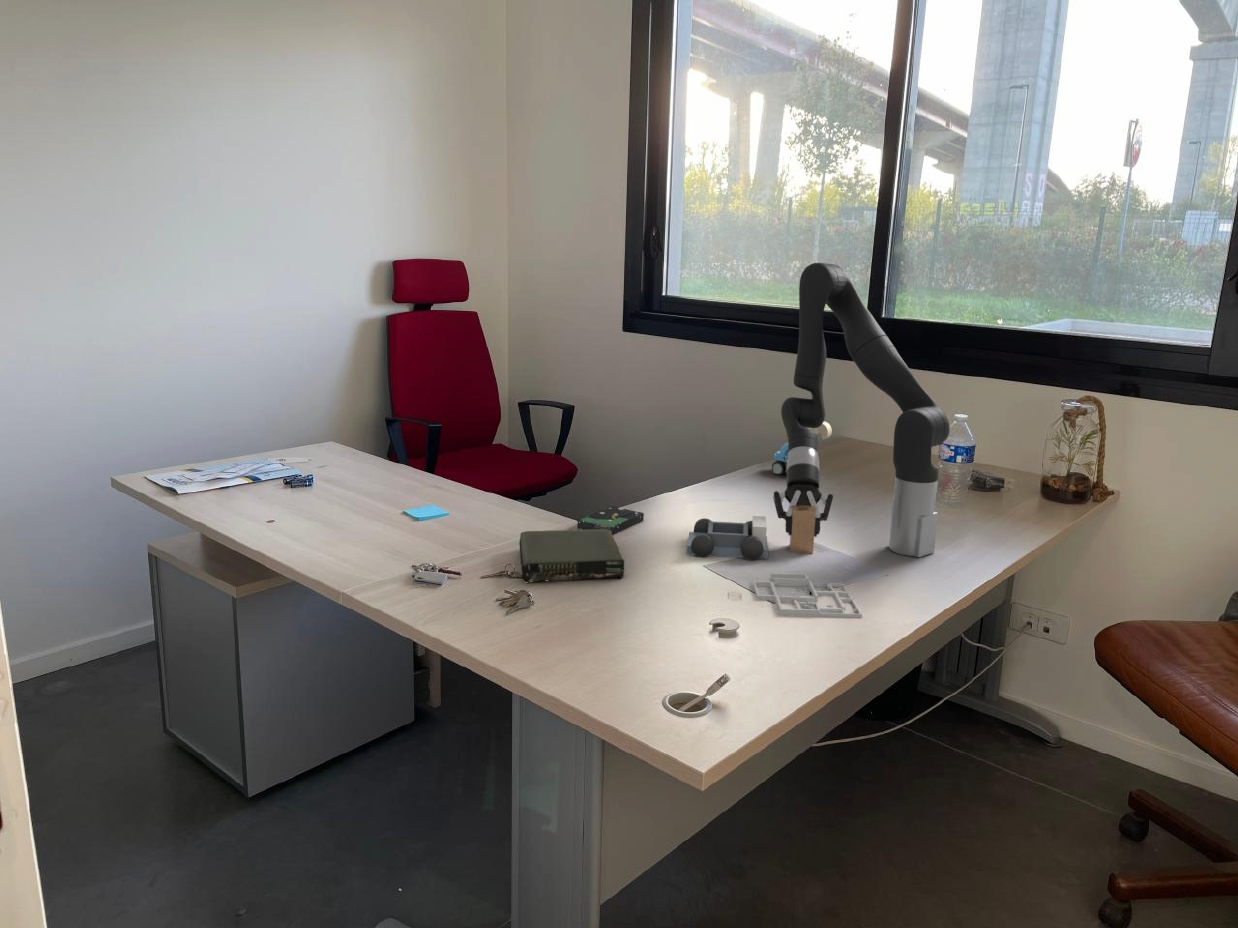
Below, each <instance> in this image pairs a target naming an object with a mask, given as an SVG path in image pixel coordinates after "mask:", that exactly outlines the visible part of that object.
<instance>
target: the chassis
mask: <svg viewBox="0 0 1238 928" xmlns="http://www.w3.org/2000/svg"><path fill="white" fill-rule="evenodd" d="M766 518H767V517H766V516H762V515H761V516H759V515H758V516H757V515H752V519H751V520H749V521H746V522H731V521H730V522H729V521H728V522H727V521H713V520H711V519H709V518H705V517H704V518H700V519H698V520H697V521H696V522H695V524H694V526H693V531H689V533H688V539H687V544H686V555H695V556H696V557H699V558H706V557H709V556H714V557H715V556H716V557H718V556H719V557H731V558H734V557H735V558H745V559H746V560H749V561H757V560H758V559H765V560H766V559H768V552H769V549H768V536H767V519H766Z"/></svg>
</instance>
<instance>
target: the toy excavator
mask: <svg viewBox="0 0 1238 928" xmlns="http://www.w3.org/2000/svg"><path fill="white" fill-rule="evenodd" d="M808 429H810V430H813V431H814V432H815V433H816V434H817V435H818V434H820V435H821V439H822V440H826V439H827V438H830V437H831V435H832V432H833V431H832V426H831V425H830V423H829V422H827V421H824V422H823V423H822V425H821V426H820V427H818V428H808ZM773 459H774V460H775V462H773V463H772V464H771V472H772V473H773V474H774V475H782V474H785V473H786V474H787V459H788V442H787V443H785V444H783V445H782V446H781V448H780V450H778V451H776V452H775V453H774V456H773Z"/></svg>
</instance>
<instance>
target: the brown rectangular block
mask: <svg viewBox="0 0 1238 928" xmlns="http://www.w3.org/2000/svg"><path fill="white" fill-rule="evenodd" d="M815 516H816V510H815V506H811V505H805V504H796V505H792V534H791V535H789V549H790V553H799V554H800V553H802V554H814V545H815V544H814V542H815V537H814V531H815Z"/></svg>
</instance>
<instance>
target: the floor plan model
mask: <svg viewBox="0 0 1238 928" xmlns="http://www.w3.org/2000/svg"><path fill="white" fill-rule="evenodd" d="M769 573H770V575H769V580H753V581H752V587H753V590H755V591H754V592H755V597H756V599H757V601H774V603H775V604H776V608H777V611H778V613H779V615H780V616H804V617H821V618H823V617H824V618H825V617H827V618H829V617H830V618H831V617H832V618H863V613H862V611H861V609H860V607H859V606H858V604H857V602H856V601H855V599H854V598H853V597H851V595H850V593H849V592H848V590H847V588H846V586H845V584H844V583H830V582H829V583H824V582H821V583H820V582H812V580H811V579H810V580H809V577H808V576H807V573H789V572H787V573H784V572H783V573H779V572H776V573H775V572H769ZM772 581H774V582H772ZM775 586H784V587H785V586H789V587H792V586H793V587H795V586H796V591H798V592H800V590H802V591H803V592H805V589H804V587H807V588H808V590H809V595H810V596H798V595H779V594H778V592H777V590H776V587H775ZM758 587H770V590H771V593H772V592H773V593H772V594H760V593H759V589H758ZM799 587H802V588H799ZM815 587H819V588H820V587H821V588H822V587H826V589H827V590H824V589H823V590H822V589H821V590H816V589H815ZM834 588H842V589H843V591H842V590H841V591H838V590H836V591H835V589H834ZM790 593H791V594H794V593H795V592H792V591H791V592H790ZM819 596H822V597H823V596H827V597H830V596H831V597H833V596H834V598H835V599H836V602H837V604H838V606H839V607H833V605H826V607H819V603H818V601H819ZM840 596H847V598H845V597H840ZM782 603H787V604H788V603H789V604H792V603H793V605H794V608H783V604H782ZM844 603H848V604H849V603H850V605H851V606H852V608H853V609H854V613H851V612H850V613H848V612H846V606H845V605H844ZM806 604H807V605H806Z"/></svg>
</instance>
